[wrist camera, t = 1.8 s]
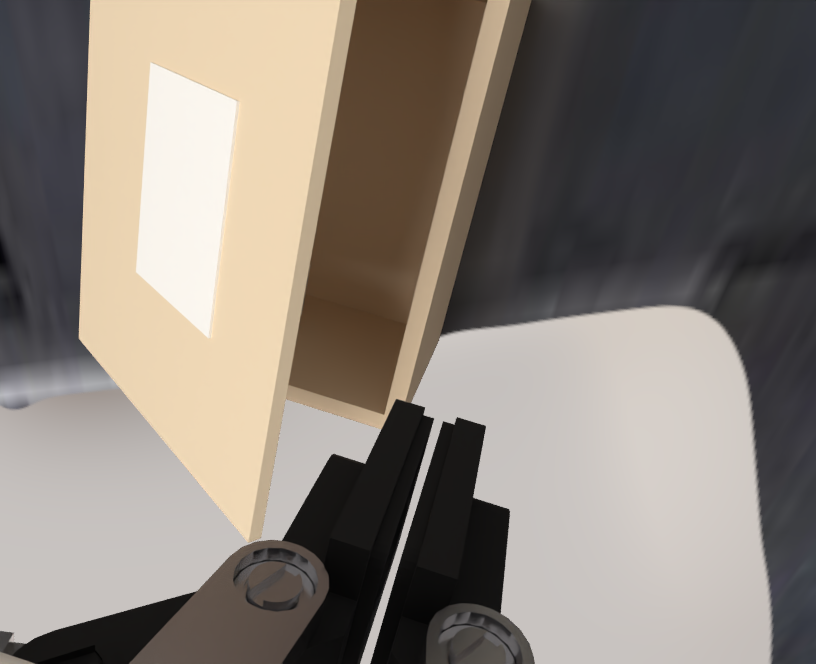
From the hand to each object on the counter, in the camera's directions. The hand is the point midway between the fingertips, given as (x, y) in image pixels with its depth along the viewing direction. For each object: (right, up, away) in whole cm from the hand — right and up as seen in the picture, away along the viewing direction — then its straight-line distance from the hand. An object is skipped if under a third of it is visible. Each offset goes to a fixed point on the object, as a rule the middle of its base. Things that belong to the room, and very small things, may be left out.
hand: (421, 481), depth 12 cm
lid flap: (-8, +8, +12) cm, 17 cm away
